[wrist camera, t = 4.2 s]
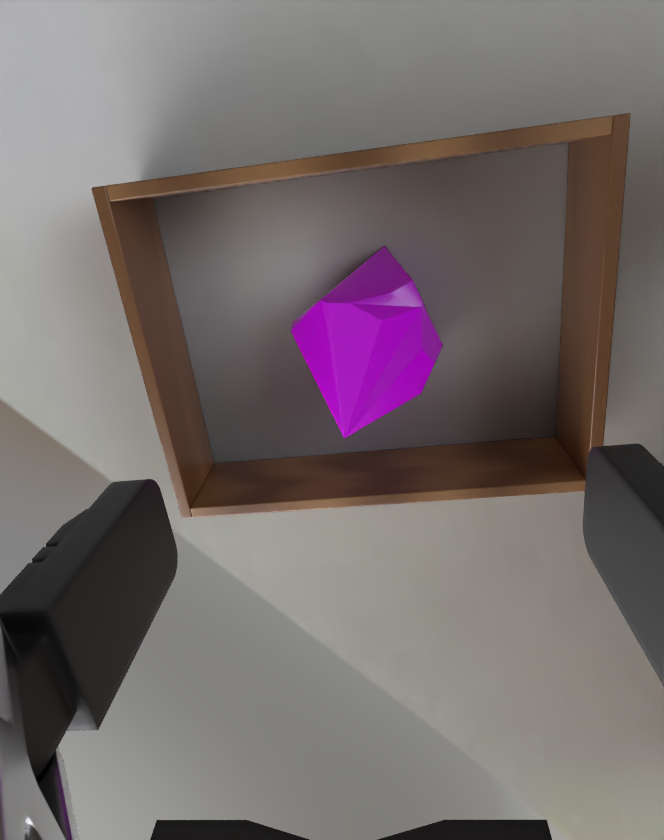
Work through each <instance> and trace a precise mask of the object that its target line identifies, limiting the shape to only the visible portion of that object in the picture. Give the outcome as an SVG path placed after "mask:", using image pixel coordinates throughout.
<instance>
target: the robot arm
mask: <svg viewBox="0 0 664 840" xmlns="http://www.w3.org/2000/svg"><path fill="white" fill-rule="evenodd" d="M583 532H584V539H585V544H586V548H587V551H588V553H589V556H590V558H591V560H592V561H593V563H594V565H595V567H596V568H597V570H598V572H599V574H600V575H601V577H602V579H603V581H604V582H605V584H606V586H607V588H608V589H609V591H610V593H611V595H612V596H613V598H614V600H615V602H616V603H617V605H618V607H619V609H620V610H621V612H622V614H623V616H624V617H625V619H626V621H627V623H628V624H629V626H630V628H631V630H632V631H633V633H634V635H635V637H636V638H637V640H638V642H639V644H640V645H641V647H642V649H643V651H644V652H645V654H646V656H647V658H648V659H649V661H650V663H651V665H652V666H653V668H654V670H655V672H656V673H657V675H658V677H659V679H660V680H661V682H662V684H663V686H664V467H663V466H662V465H661V464H660V463H659V462H658V461H657V460H656V459H655V458H654V457H653V456H652V455H651V454H650V453H649V452H648V451H647V450H646V449H645V448H644V447H643V446H642V445H640V444H627V445H613V446H600V447H593V448H591V450H590V451H589V454H588V459H587V472H586V486H585V500H584V515H583ZM176 569H177V548H176V543H175V540H174V536H173V533H172V529H171V526H170V522H169V518H168V515H167V511H166V508H165V504H164V501H163V497H162V494H161V491H160V488H159V486H158V484H157V483H156V482H155V481H154V480H152V479H147V480H133V481H120V482H113V483H111V484H110V485H109V486H108V487H107V488H106V489H105V491H104V492H103V493H102V494H101V495H100V496H99V498H98V499H97V500H96V501H95V502H94V503H93V504H92V506H91V507H90V508H89V509H86V510H85V511H83V512H82V513H80V514H79V515H77V516H76V517H74V518H73V519H71V520H70V521H68V522H67V523H65V524H64V525H63V526H62V527H61V528H60V529H59V530H58V531H57V532H56V534H55V535H54V536H53V537H52V538H51V539H50V540H49V541H48V542H47V543H46V547H43V548H42V549H41V550H40V551H39V552H38V553H37V555H36V556H35V557H34V558H33V559H32V563H29V564H27V566H26V567H25V568H24V569H23V570H22V571H21V573H19V575H18V576H17V577H16V578H15V579H14V580H13V581H12V582H11V584H10V585H9V586H8V587H7V588H6V589H5V590H4V591H3V592H2V593H1V595H0V840H79V835H78V830H77V825H76V820H75V815H74V810H73V805H72V800H71V795H70V790H69V785H68V781H67V775H66V770H65V765H64V760H63V757H62V754H61V753H60V750H59V748H58V745H59V743H60V741H61V739H62V737H63V736H64V734H65V732H66V731H78V730H79V731H80V730H98V729H99V727H100V725H101V723H102V721H103V719H104V717H105V715H106V713H107V711H108V709H109V707H110V705H111V703H112V701H113V699H114V697H115V695H116V693H117V691H118V689H119V687H120V685H121V683H122V681H123V679H124V677H125V675H126V673H127V671H128V669H129V667H130V665H131V662H132V661H133V659H134V657H135V655H136V653H137V651H138V649H139V647H140V645H141V643H142V641H143V639H144V637H145V635H146V633H147V631H148V629H149V627H150V625H151V623H152V621H153V619H154V617H155V615H156V613H157V611H158V609H159V607H160V605H161V603H162V601H163V599H164V597H165V595H166V593H167V591H168V589H169V587H170V585H171V583H172V581H173V579H174V577H175V574H176ZM150 840H309V839H306V838H302V837H299V836H296V835H293V834H290V833H287V832H283V831H280V830H277V829H273V828H270V827H267V826H264V825H261V824H258V823H254V822H251V821H248V820H157V821H156V824H155V827H154V830H153V833H152V836H151V839H150ZM378 840H552V838H551V834H550V831H549V827H548V823H547V820H443V821H439V822H436V823H433V824H429V825H426V826H422V827H419V828H416V829H412V830H409V831H405V832H402V833H399V834H395V835H392V836H388V837H385V838H382V839H378Z"/></svg>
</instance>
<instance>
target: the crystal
mask: <svg viewBox="0 0 664 840" xmlns="http://www.w3.org/2000/svg"><path fill="white" fill-rule="evenodd" d="M291 333H292V335H293V337H294V339H295V341H296V343H297V345H298V347H299V349H300V351H301V353H302V355H303V357H304V359H305V361H306V363H307V365H308V367H309V369H310V371H311V373H312V375H313V377H314V379H315V381H316V383H317V385H318V387H319V389H320V391H321V393H322V395H323V397H324V399H325V401H326V403H327V405H328V407H329V409H330V411H331V413H332V415H333V417H334V419H335V421H336V423H337V425H338V427H339V429H340V431H341V433H342V435H343V437H344V439H345V438H346V437H348V436H350V435H351V434H353V433H355V432H356V431H358V430H360V429H361V428H363V427H365V426H366V425H368V424H370V423H372V422H373V421H375V420H377V419H378V418H380V417H382V416H383V415H385V414H387V413H388V412H390V411H392V410H393V409H395V408H397V407H399V406H400V405H402V404H404V403H405V402H407V401H409V400H410V399H412V398H414V397H415V396H417V395H419V394H421V392H422V390H423V388H424V386H425V384H426V381H427V379H428V377H429V375H430V373H431V370H432V368H433V366H434V364H435V362H436V359H437V357H438V355H439V353H440V351H441V348H442V346H443V344H442V342H441V340H440V338H439V336H438V334H437V332H436V329H435V327H434V325H433V323H432V321H431V319H430V316H429V314H428V312H427V310H426V308H425V306H424V303H423V301H422V299H421V297H420V294H419V292H418V290H417V288H416V286H415V284H414V282H413V280H412V279H411V278H410V276H409V275H408V274H407V273H406V272H405V270H404V269H403V268H402V267H401V265H400V264H399V263H398V262H397V261H396V259H395V258H394V257H393V256H392V254H391V253H390V252H389V251H388V250H387V248H386V247H385V246H384V247H383V248H381V249H380V250H379V251H378V252H377V253H375V254H374V255H373V256H372V257H370V258H369V259H368V260H367V261H366V262H364V263H363V264H362V265H361V266H360V267H358V268H357V269H356V270H355V271H353V272H352V273H351V274H350V275H349V276H347V277H346V278H345V279H344V280H343V281H341V282H340V283H339V284H338V285H336V286H335V287H334V288H333V289H332V290H330V291H329V292H328V293H327V294H326V295H324V296H323V297H322V298H321V299H319V300H318V301H317V302H316V303H315V304H313V305H312V306H311V307H310V308H309V309H307V310H306V311H305V312H304V313H302V314H301V315H300V316H299V317H298V318H296V319H295V320H294V321H293V323H292V328H291Z"/></svg>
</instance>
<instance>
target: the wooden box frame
mask: <svg viewBox="0 0 664 840" xmlns="http://www.w3.org/2000/svg"><path fill="white" fill-rule="evenodd" d="M629 127H630V113H626V114H618V115H613V116H604V117H597V118H590V119H583V120H575V121H568V122H561V123H554V124H547V125H539V126H532V127H525V128H518V129H511V130H503V131H496V132H489V133H482V134H474V135H467V136H460V137H453V138H446V139H438V140H431V141H424V142H417V143H410V144H402V145H395V146H388V147H381V148H374V149H366V150H359V151H352V152H345V153H338V154H330V155H323V156H316V157H309V158H302V159H294V160H287V161H280V162H273V163H266V164H258V165H251V166H244V167H237V168H230V169H222V170H215V171H208V172H201V173H194V174H186V175H179V176H172V177H165V178H158V179H150V180H143V181H136V182H129V183H122V184H114V185H107V186H100V187H93V188H92V192H93V196H94V200H95V203H96V207H97V211H98V214H99V218H100V222H101V225H102V229H103V233H104V236H105V240H106V244H107V247H108V251H109V255H110V258H111V262H112V266H113V269H114V273H115V277H116V280H117V284H118V288H119V291H120V295H121V299H122V302H123V306H124V310H125V313H126V317H127V321H128V324H129V328H130V332H131V335H132V339H133V343H134V346H135V350H136V354H137V357H138V361H139V365H140V368H141V372H142V376H143V379H144V383H145V387H146V390H147V394H148V398H149V401H150V405H151V409H152V412H153V416H154V420H155V423H156V427H157V431H158V434H159V438H160V442H161V445H162V449H163V453H164V456H165V460H166V464H167V467H168V471H169V475H170V478H171V482H172V486H173V489H174V493H175V497H176V500H177V504H178V508H179V511H180V515H181V518H191V517H208V516H223V515H237V514H252V513H267V512H282V511H296V510H311V509H326V508H341V507H355V506H370V505H385V504H400V503H414V502H429V501H444V500H458V499H473V498H488V497H503V496H517V495H532V494H547V493H562V492H576V491H585V486H586V472H587V459H588V454H589V451H590V450H591V448H593V447H600V446H603V441H604V429H605V417H606V405H607V393H608V381H609V369H610V357H611V345H612V332H613V320H614V308H615V296H616V284H617V272H618V260H619V248H620V236H621V224H622V211H623V199H624V187H625V175H626V163H627V151H628V139H629ZM566 142H569V156H568V178H567V201H566V223H565V246H564V268H563V291H562V313H561V336H560V358H559V381H558V403H557V426H556V437H544V438H531V439H518V440H506V441H493V442H480V443H467V444H455V445H442V446H429V447H417V448H404V449H391V450H378V451H366V452H353V453H340V454H328V455H315V456H302V457H290V458H277V459H264V460H251V461H239V462H226V463H215V464H214V460H213V456H212V451H211V447H210V443H209V439H208V434H207V430H206V426H205V421H204V417H203V413H202V409H201V404H200V400H199V396H198V391H197V387H196V383H195V379H194V374H193V370H192V366H191V361H190V357H189V353H188V349H187V344H186V340H185V336H184V331H183V327H182V323H181V319H180V314H179V310H178V306H177V302H176V297H175V293H174V289H173V284H172V280H171V276H170V272H169V267H168V263H167V259H166V254H165V250H164V246H163V242H162V237H161V233H160V229H159V224H158V220H157V216H156V212H155V207H154V203H153V199H152V198H158V197H165V196H173V195H180V194H188V193H195V192H202V191H210V190H217V189H225V188H232V187H240V186H247V185H254V184H262V183H269V182H277V181H284V180H291V179H299V178H306V177H314V176H321V175H329V174H336V173H343V172H351V171H358V170H366V169H373V168H380V167H388V166H395V165H403V164H410V163H417V162H425V161H432V160H440V159H447V158H455V157H462V156H469V155H477V154H484V153H492V152H499V151H506V150H514V149H521V148H529V147H536V146H544V145H551V144H558V143H566Z"/></svg>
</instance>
